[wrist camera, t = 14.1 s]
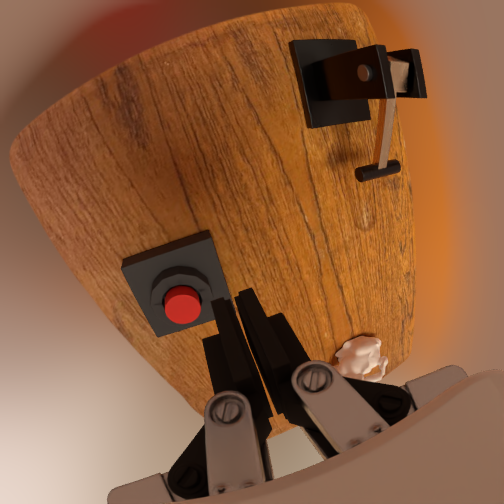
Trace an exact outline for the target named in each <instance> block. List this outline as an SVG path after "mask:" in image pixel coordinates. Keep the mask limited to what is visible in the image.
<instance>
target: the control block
mask: <svg viewBox="0 0 504 504" xmlns="http://www.w3.org/2000/svg"><path fill="white" fill-rule="evenodd" d="M121 270H122V272H123V274H124V276H125V278H126V280H127V282H128V284H129V286H130V288H131V290H132V292H133V294H134V296H135V298H136V300H137V302H138V304H139V305H140V307H141V309H142V311H143V313H144V315H145V316H146V318H147V320H148V322H149V324H150V325H151V327H152V329H153V331H154V332H155V334H156V336H157V337H161V336H164V335H168V334H171V333H174V332H178V331H181V330H184V329H187V328H190V327H193V326H197V325H200V324H203V323H206V322H209V321H212V320H215V317H214V313H213V309H212V306H211V302H210V301H212V300H215V299H218V298H221V297H224V299H225V300H227V299H230V300H231V302H232V299H231V296H230V293H229V290H228V287H227V284H226V281H225V278H224V275H223V272H222V269H221V265H220V262H219V259H218V256H217V253H216V250H215V247H214V243H213V240H212V237H211V234H210V232H209V230H207V231H204V232H201V233H198V234H195V235H192V236H189V237H186V238H183V239H180V240H177V241H174V242H171V243H168V244H166V245H163V246H160V247H157V248H154V249H151V250H148V251H145V252H142V253H140V254H137V255H134V256H131V257H128V258H126V259H123V263H122V266H121ZM176 286H188V287H191V288H192V289H194V290H195V291H196V292H197V294H198V296H199V301H200V306H201V312H200V314H199V316H198V317H197V318H196V319H195V320H194V321H192V322H190V323H186V324H179V323H175V322H173V321H171V320H170V319H169V318H168V317H167V315H166V313H165V296H166V294H167V292H168V291H169V290H170V289H172V288H173V287H176ZM232 305H233V302H232ZM233 308H234V305H233ZM234 310H235V308H234ZM235 313H236V311H235Z"/></svg>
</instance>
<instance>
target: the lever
mask: <svg viewBox="0 0 504 504" xmlns="http://www.w3.org/2000/svg"><path fill="white" fill-rule="evenodd" d="M388 60H389V65H390V70H391V75H392V81H393V86H394V92H395V99H380V102H379V114H378V124H377V133H376V141H375V149H374V157H373V164H371V165H366V166H362V167H358V168H356V169H355V176H356V179H357V180H358V181H359V182H364V181H368V180H372V179H376V178H380V177H383V176H387V175H391V174H395V173H399V172H400V170H401V166H400V163H399V161H398V160H396V159H393V160H389V161H388V155H389V149H390V142H391V135H392V128H393V121H394V112H395V103H396V93H397V92H407V83H408V71H409V63H408V62H406V61H403V60H400V59H397V58H394V57H391V56H388Z"/></svg>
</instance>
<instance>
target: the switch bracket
mask: <svg viewBox="0 0 504 504" xmlns="http://www.w3.org/2000/svg"><path fill="white" fill-rule="evenodd" d="M289 47H290V51H291V55H292V59H293V63H294V67H295V71H296V76H297V80H298V84H299V89H300V94H301V98H302V103H303V108H304V113H305V118H306V123H307V128H311V129H313V128H319V127H325V126H331V125H337V124H343V123H350V122H357V121H365V120H371V117H370V110H369V104H368V99H395V92H394V86H393V81H392V75H391V70H390V65H389V60H388V56H391V57H394V58H397V59H400V60H403V61H406V62H408V63H409V71H408V83H407V92H397V93H396V97H404V98H405V97H406V98H427V93H426V87H425V80H424V74H423V69H422V64H421V59H420V54H419V50H417V49H405V50H398V51H393V52H386V47H385V46H384V45H372V46H368V47H364V48H360V49H357V45H356V41H355V40H343V39H309V40H292V41H291V42H289Z"/></svg>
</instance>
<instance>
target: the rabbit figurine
mask: <svg viewBox="0 0 504 504" xmlns="http://www.w3.org/2000/svg"><path fill="white" fill-rule="evenodd" d="M380 345H381V341H380V339H378V338H376V337H365V336H359V337H357V338H355V339H352V340H349V341H347V342H345V343H344V345H343V348H342V349H340V350H339V351H338V352H337V353H336V354H335V356H336V357H339V358H338V362H340V363H339V366H333V367H334V368H335V369H336V370H337V371H338V372H339V373H340V374H341V375H342V376H344V377H349V378H354V379H359V380H364V381H370V382H377V381H379V380H381V379H382V376H383V375H384V374H385V366H386V365H387V363H388V359H387V357H386V356H382V357H380V353H379V352H380ZM377 365H380V366H379V369H382V371H381V372H378V373H376V374H373V375H371V376H367V377H364V375H363V374H366V373H369V372H370V371H371V369H372V368H373V367H375V366H377Z"/></svg>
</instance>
